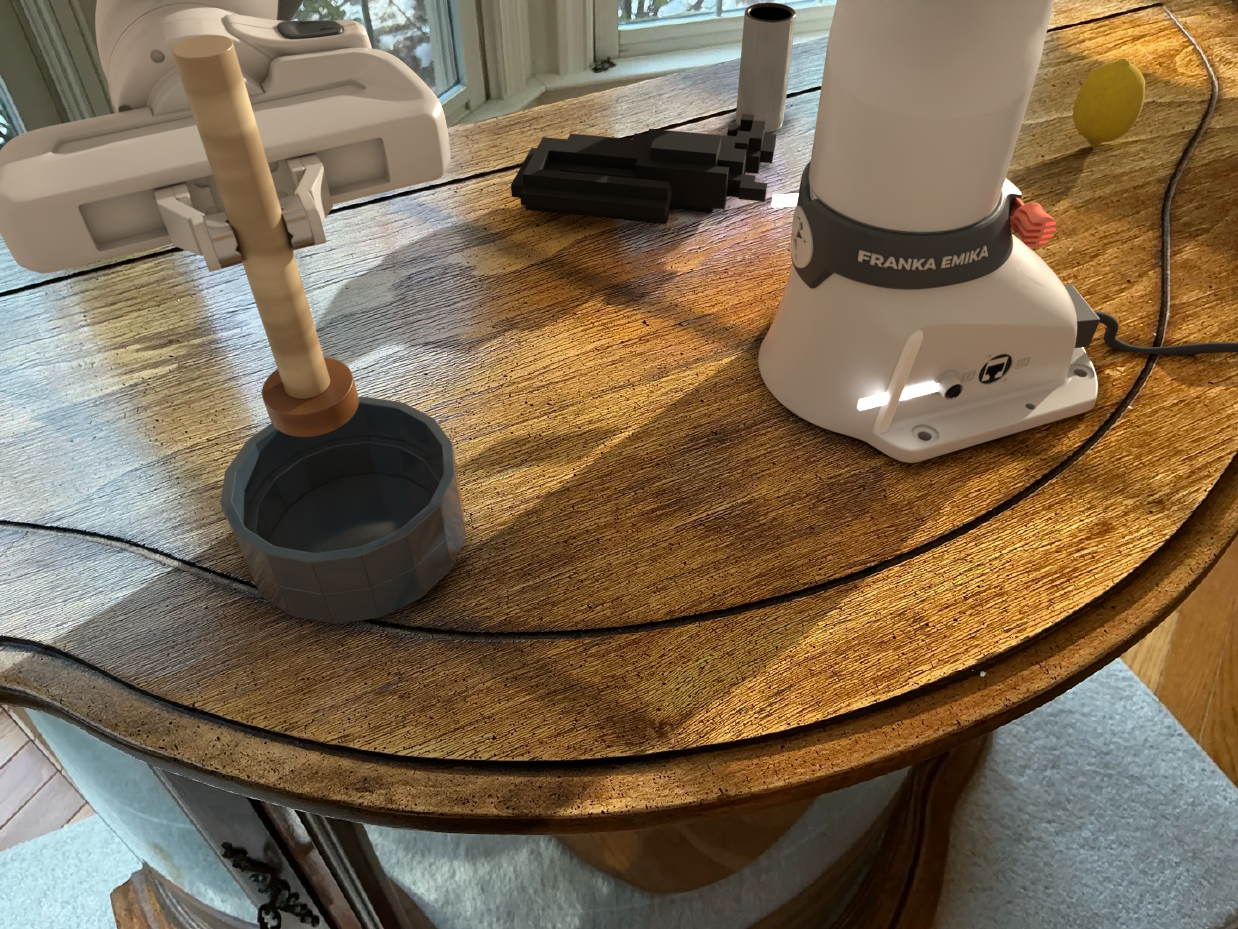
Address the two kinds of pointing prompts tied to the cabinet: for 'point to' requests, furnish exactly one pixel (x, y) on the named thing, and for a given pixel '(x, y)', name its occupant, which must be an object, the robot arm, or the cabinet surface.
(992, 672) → the cabinet surface
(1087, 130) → the lemon
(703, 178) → the tool
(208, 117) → the stirring stick
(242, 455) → the bowl
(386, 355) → the cabinet surface
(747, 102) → the light grey tube
